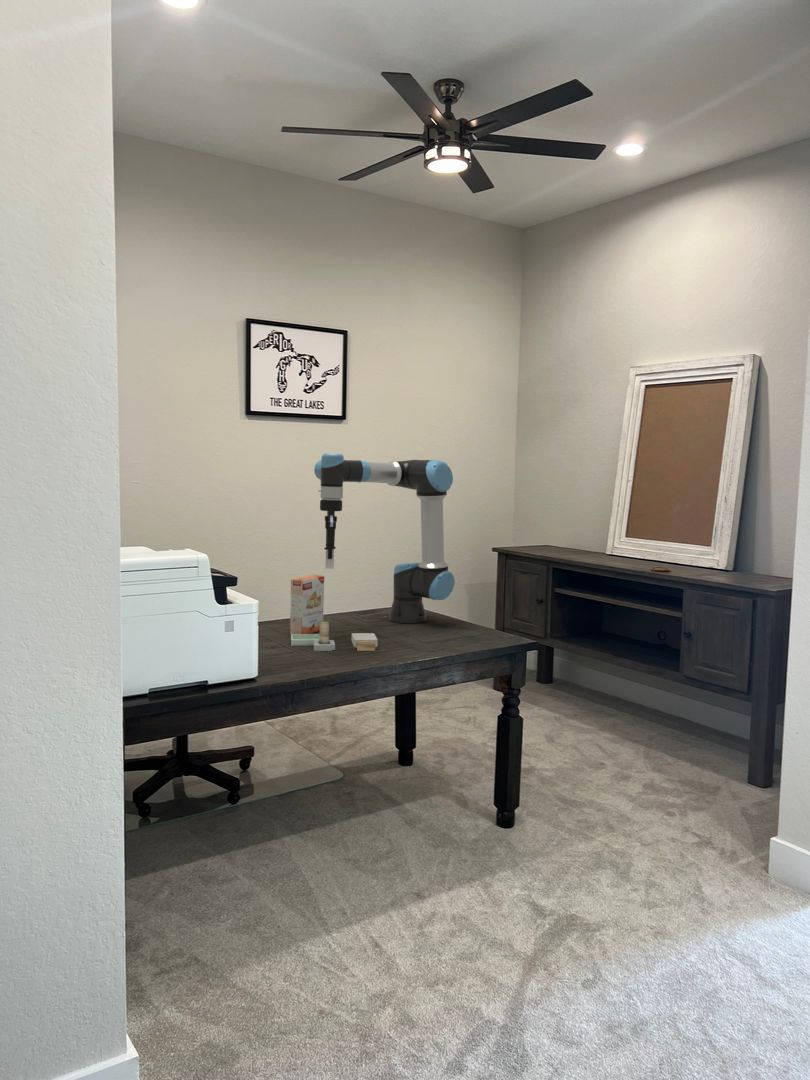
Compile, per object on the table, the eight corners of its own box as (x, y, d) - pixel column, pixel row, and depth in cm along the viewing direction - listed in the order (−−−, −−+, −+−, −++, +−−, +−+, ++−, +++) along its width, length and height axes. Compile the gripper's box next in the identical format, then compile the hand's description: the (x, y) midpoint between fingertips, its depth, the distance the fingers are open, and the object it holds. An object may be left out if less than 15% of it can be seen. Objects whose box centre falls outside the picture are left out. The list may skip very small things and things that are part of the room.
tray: (290, 639, 278) (291, 634, 278) (325, 639, 280) (325, 633, 280) (291, 646, 269) (291, 640, 269) (326, 645, 271) (326, 639, 271)
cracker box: (302, 637, 283) (303, 580, 280) (289, 635, 286) (289, 578, 283) (324, 630, 295) (325, 575, 293) (311, 628, 298) (311, 573, 296)
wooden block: (356, 648, 268) (356, 641, 268) (373, 647, 269) (373, 640, 269) (357, 651, 264) (357, 643, 264) (375, 650, 265) (375, 643, 265)
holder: (313, 646, 270) (313, 640, 270) (333, 645, 271) (333, 640, 271) (314, 651, 263) (314, 645, 263) (335, 650, 264) (335, 644, 264)
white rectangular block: (351, 641, 279) (351, 633, 279) (373, 641, 281) (373, 633, 280) (354, 648, 269) (354, 640, 269) (377, 648, 271) (377, 639, 270)
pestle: (319, 647, 268) (319, 621, 267) (328, 647, 269) (328, 621, 268) (319, 649, 265) (319, 623, 264) (329, 649, 266) (329, 623, 265)
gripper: (319, 498, 270) (317, 565, 272) (320, 499, 257) (319, 570, 260) (341, 498, 271) (339, 565, 274) (343, 500, 259) (341, 571, 261)
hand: (329, 568), depth 267 cm, fingers closed
